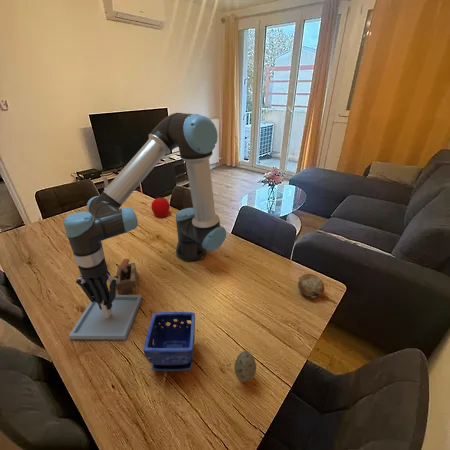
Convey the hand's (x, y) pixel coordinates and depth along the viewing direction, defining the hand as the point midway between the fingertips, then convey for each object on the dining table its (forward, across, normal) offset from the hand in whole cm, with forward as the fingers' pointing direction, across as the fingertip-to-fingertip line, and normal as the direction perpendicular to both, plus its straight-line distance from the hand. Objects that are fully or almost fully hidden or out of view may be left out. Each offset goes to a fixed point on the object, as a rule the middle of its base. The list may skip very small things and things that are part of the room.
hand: (108, 314), depth 87 cm
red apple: (+2, 0, -81) cm, 81 cm away
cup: (+2, +16, -28) cm, 32 cm away
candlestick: (+2, +26, -71) cm, 76 cm away
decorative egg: (+2, -47, +20) cm, 51 cm away
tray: (+2, 0, 0) cm, 2 cm away
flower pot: (+2, -26, +14) cm, 30 cm away
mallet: (+2, 0, -19) cm, 19 cm away
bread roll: (+2, -75, -16) cm, 77 cm away
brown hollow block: (+2, -1, -18) cm, 18 cm away
